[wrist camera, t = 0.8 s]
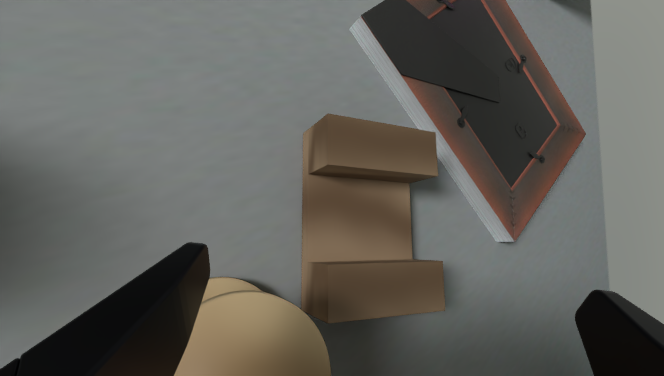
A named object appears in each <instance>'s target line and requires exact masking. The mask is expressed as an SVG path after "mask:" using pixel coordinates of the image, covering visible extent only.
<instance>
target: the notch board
mask: <svg viewBox="0 0 664 376" xmlns="http://www.w3.org/2000/svg"><path fill="white" fill-rule="evenodd" d="M436 176H438V167H437V148H436V132H431V131H425V130H419V129H414V128H408V127H402V126H396V125H391V124H385V123H379V122H373V121H368V120H362V119H356V118H351V117H345V116H339V115H333V114H327V115H326V116H324V117H323V118H322V119H321V120H319V121H318V122H317V123H316V124H314V125H313V126H312V127H311V128H309V129H308V130H307V131H306V132H304V133H303V200H302V293H301V310H302V311H304V312H306V313H308V314H310V315H312V316H314V317H316V318H318V319H320V320H322V321H324V322H326V323H337V322H346V321H355V320H364V319H373V318H382V317H391V316H400V315H409V314H418V313H427V312H436V311H445V297H444V278H443V261H432V260H416V259H412V237H411V212H410V187H409V183H412V182H416V181H420V180H424V179H428V178H432V177H436Z"/></svg>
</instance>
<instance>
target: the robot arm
mask: <svg viewBox="0 0 664 376" xmlns="http://www.w3.org/2000/svg"><path fill="white" fill-rule="evenodd" d="M209 277H210V263H209V254H208V248H207V245H205V244H202V243H193V242H189V243H186V244H184V245H183V246H182V247H180V248H179V249H177V250H176V251H174V252H173V253H171V254H170V255H168V256H167V257H165V258H164V259H162V260H161V261H159V262H158V263H156V264H155V265H153V266H152V267H151V268H149V269H148V270H146V271H145V272H143V273H142V274H140V275H139V276H137V277H136V278H134V279H133V280H131V281H130V282H128V283H127V284H125V285H124V286H122V287H121V288H120V289H118V290H117V291H115V292H114V293H112V294H111V295H109V296H108V297H106V298H105V299H103V300H102V301H100V302H99V303H97V304H96V305H94V306H93V307H91V308H90V309H89V310H87V311H86V312H84V313H83V314H81V315H80V316H78V317H77V318H75V319H74V320H72V321H71V322H69V323H68V324H66V325H65V326H63V327H62V328H60V329H59V330H58V331H56V332H55V333H53V334H52V335H50V336H49V337H47V338H46V339H44V340H43V341H41V342H40V343H38V344H37V345H35V346H34V347H32V348H31V349H29V350H28V351H27V352H25V353H24V354H22V355H21V357H20V359H19V358H17V359H14V360H13V361H11V362H10V363H9V364H7V365H6V366H4V367H3V368H1V369H0V376H174V374H175V372H176V370H177V368H178V365H179V363H180V361H181V359H182V356H183V354H184V352H185V349H186V347H187V345H188V342H189V339H190V336H191V333H192V330H193V327H194V324H195V321H196V318H197V315H198V312H199V309H200V306H201V302H202V299H203V296H204V293H205V290H206V287H207V284H208V281H209ZM575 321H576V325H577V328H578V331H579V333H580V336H581V339H582V342H583V345H584V348H585V351H586V354H587V357H588V359H589V362H590V365H591V368H592V371H593V374H594V376H664V324H662V323H661V322H659V321H658V320H656V319H655V318H653V317H652V316H650V315H649V314H647V313H646V312H644V311H643V310H641V309H640V308H638V307H637V306H635V305H634V304H632V303H631V302H629V301H628V300H626V299H625V298H623V297H622V296H620V295H619V294H617V293H615V292H612V291H605V290H594V291H592V292H591V293H590V294H589V295H588V296H587V298H586V299H585V300H584V302H583V303H582V304H581V306H580V307H579V308H578V310H577V311H576V314H575Z"/></svg>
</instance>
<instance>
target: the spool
mask: <svg viewBox="0 0 664 376" xmlns="http://www.w3.org/2000/svg"><path fill="white" fill-rule="evenodd" d="M174 376H331V369H330V361H329V355H328V351H327V348H326V345H325V342H324V340H323V337H322V335H321V333H320V331H319V330H318V328H317V327H316V325H315V324H314V322H313V321H312V320H311V319H310V318H309V316H308V315H307V314H305V313H304V312H303V311H302V310H301V309H300V308H298V307H297V306H295V305H294V304H292V303H290V302H288V301H286V300H284V299H282V298H280V297H278V296H275V295H273V294H269V293H266V292H262V291H261V290H260V289H259V288H257V287H255V286H254V285H252V284H250V283H247V282H245V281H243V280H240V279H236V278H231V277H214V278H209V281H208V284H207V287H206V290H205V293H204V296H203V299H202V302H201V306H200V309H199V312H198V315H197V318H196V321H195V324H194V327H193V330H192V333H191V336H190V339H189V342H188V345H187V347H186V349H185V352H184V354H183V356H182V359H181V361H180V363H179V365H178V368H177V370H176V372H175V374H174Z"/></svg>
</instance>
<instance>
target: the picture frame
mask: <svg viewBox="0 0 664 376" xmlns="http://www.w3.org/2000/svg"><path fill="white" fill-rule="evenodd" d="M350 31H351V32H352V34H353V35H354V37H355V38H356V40H357V41H358V42H359V44H360V45H361V47H362V48H363V50H364V51H365V53H366V54H367V55H368V57H369V58H370V60H371V61H372V63H373V64H374V66H375V67H376V68H377V70H378V71H379V73H380V74H381V76H382V77H383V79H384V80H385V81H386V83H387V84H388V86H389V87H390V89H391V90H392V92H393V93H394V94H395V96H396V97H397V99H398V100H399V102H400V103H401V105H402V106H403V107H404V109H405V110H406V112H407V113H408V115H409V116H410V118H411V119H412V120H413V122H414V123H415V125H416V126H417V128H418V129H419V130H425V131H431V132H436V148H437V156H438V158H439V159H440V161H441V162H442V164H443V165H444V167H445V168H446V169H447V171H448V172H449V174H450V175H451V177H452V178H453V180H454V181H455V182H456V184H457V185H458V187H459V188H460V190H461V191H462V193H463V194H464V195H465V197H466V198H467V200H468V201H469V203H470V204H471V206H472V207H473V208H474V210H475V211H476V213H477V214H478V216H479V217H480V219H481V220H482V221H483V223H484V224H485V226H486V227H487V229H488V230H489V232H490V233H491V234H492V236H493V237H494V239H495V240H496V242H515V241H516V239H517V238H518V236H519V235H520V233H521V232H522V230H523V229H524V227H525V226H526V224H527V223H528V221H529V220H530V218H531V217H532V215H533V214H534V212H535V211H536V209H537V208H538V206H539V205H540V203H541V202H542V200H543V199H544V197H545V196H546V194H547V193H548V191H549V190H550V188H551V186H552V185H553V183H554V182H555V180H556V179H557V177H558V176H559V174H560V173H561V171H562V170H563V168H564V167H565V165H566V164H567V162H568V161H569V159H570V158H571V156H572V155H573V153H574V152H575V150H576V149H577V147H578V146H579V144H580V143H581V141H582V140H583V138H584V137H585V135H586V133H585V131H584V130H583V128H582V126H581V125H580V123H579V121H578V120H577V118H576V116H575V115H574V113H573V112H572V110H571V108H570V107H569V105H568V103H567V102H566V100H565V98H564V97H563V95H562V93H561V92H560V90H559V88H558V87H557V85H556V83H555V82H554V80H553V78H552V77H551V75H550V73H549V72H548V70H547V68H546V67H545V65H544V63H543V62H542V60H541V58H540V57H539V55H538V53H537V52H536V50H535V49H534V47H533V45H532V44H531V42H530V40H529V39H528V37H527V35H526V34H525V32H524V30H523V29H522V27H521V25H520V24H519V22H518V20H517V19H516V17H515V15H514V14H513V12H512V10H511V9H510V7H509V5H508V4H507V2H506V0H385V1H383V2H381V3H380V4H378V5H377V6H375V7H373V8H372V9H370V10H368V11H367V12H365V13H364V14H362V15H361V16H360V17H359V18H358V20H357V21H356V22H355V23H354V24H353V25H352V27H351V28H350Z"/></svg>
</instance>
